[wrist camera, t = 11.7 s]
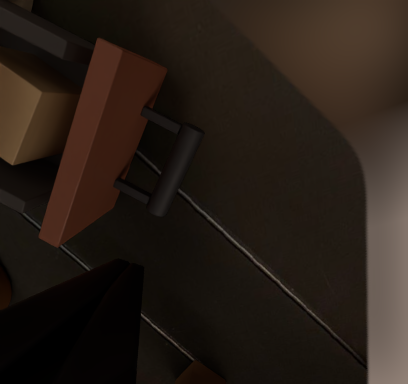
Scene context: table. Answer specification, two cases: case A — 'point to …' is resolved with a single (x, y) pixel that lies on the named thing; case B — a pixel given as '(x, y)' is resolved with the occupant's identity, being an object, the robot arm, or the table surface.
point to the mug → (4, 289)
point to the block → (33, 107)
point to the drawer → (91, 130)
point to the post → (199, 375)
